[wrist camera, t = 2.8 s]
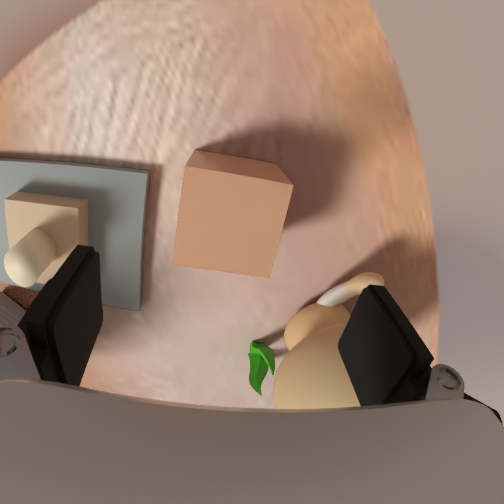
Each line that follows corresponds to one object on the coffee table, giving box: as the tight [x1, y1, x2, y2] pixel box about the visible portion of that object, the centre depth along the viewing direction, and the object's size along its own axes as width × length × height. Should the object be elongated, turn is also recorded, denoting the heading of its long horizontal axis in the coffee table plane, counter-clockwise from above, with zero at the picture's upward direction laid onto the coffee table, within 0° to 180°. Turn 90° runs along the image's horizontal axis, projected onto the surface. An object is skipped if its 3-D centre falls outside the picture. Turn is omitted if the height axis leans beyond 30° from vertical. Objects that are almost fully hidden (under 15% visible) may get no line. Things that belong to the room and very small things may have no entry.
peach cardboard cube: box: [173, 150, 294, 278], centre depth 21 cm, size 6×6×6 cm
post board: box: [0, 158, 150, 311], centre depth 20 cm, size 16×12×6 cm
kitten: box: [248, 272, 385, 409], centre depth 23 cm, size 15×10×15 cm, turn 124°
